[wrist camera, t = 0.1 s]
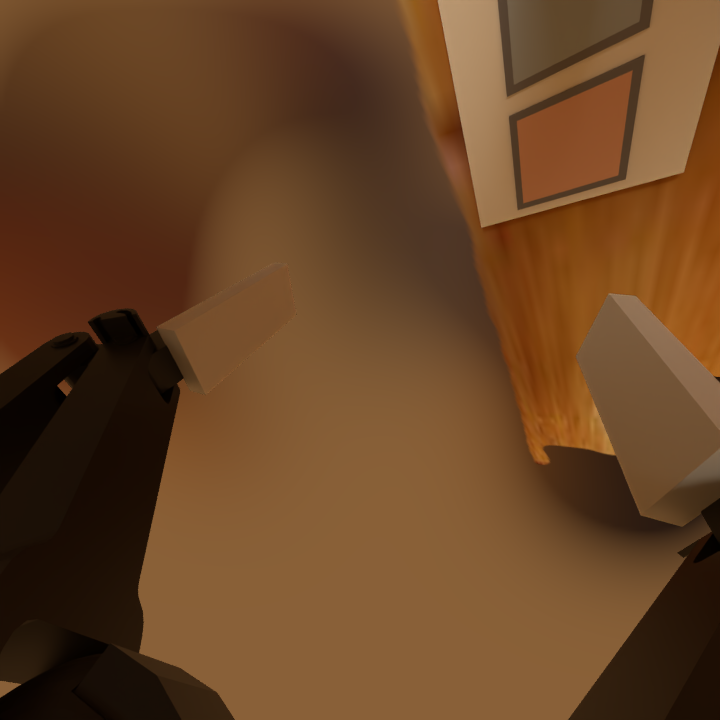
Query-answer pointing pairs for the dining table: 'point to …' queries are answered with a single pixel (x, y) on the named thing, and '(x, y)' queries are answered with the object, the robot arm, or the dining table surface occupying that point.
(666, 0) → the picture board
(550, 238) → the dining table surface
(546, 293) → the dining table surface
